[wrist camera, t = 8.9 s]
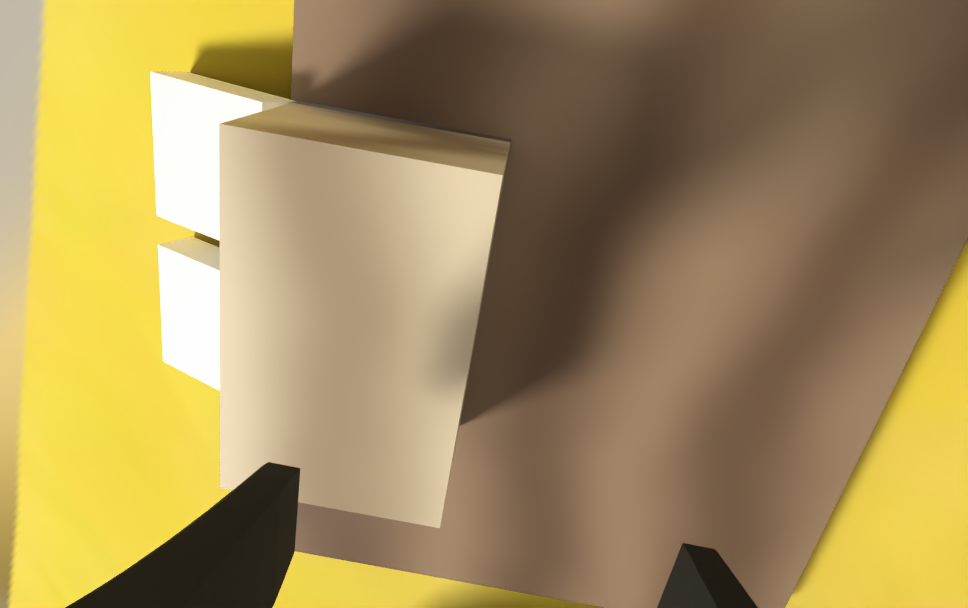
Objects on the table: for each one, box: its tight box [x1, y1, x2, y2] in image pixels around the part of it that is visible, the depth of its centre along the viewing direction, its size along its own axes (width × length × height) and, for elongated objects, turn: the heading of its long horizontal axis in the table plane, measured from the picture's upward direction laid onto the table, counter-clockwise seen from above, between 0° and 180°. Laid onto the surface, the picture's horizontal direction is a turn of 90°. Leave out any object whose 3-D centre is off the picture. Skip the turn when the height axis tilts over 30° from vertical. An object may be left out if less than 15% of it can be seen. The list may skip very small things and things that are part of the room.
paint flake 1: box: [158, 237, 220, 391], centre depth 19 cm, size 4×4×1 cm
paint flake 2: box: [150, 71, 296, 241], centre depth 17 cm, size 4×4×1 cm
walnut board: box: [291, 0, 968, 608], centre depth 19 cm, size 18×22×2 cm
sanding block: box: [219, 101, 511, 528], centre depth 16 cm, size 6×9×4 cm, turn 171°
